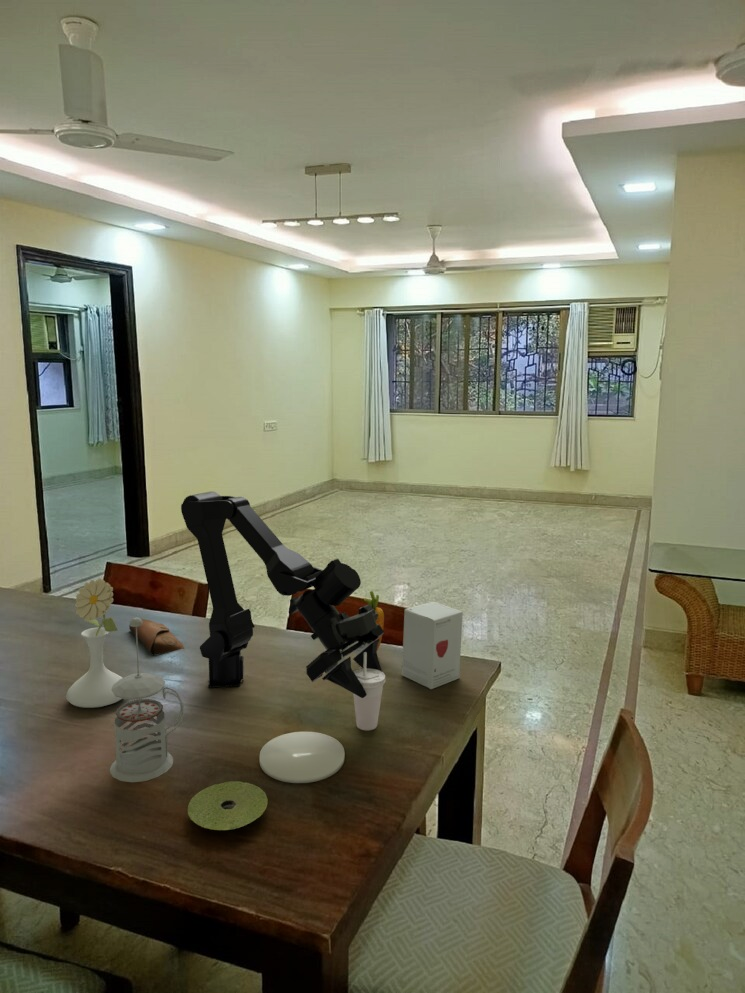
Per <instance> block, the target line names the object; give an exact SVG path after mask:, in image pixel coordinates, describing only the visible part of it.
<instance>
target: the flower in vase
mask: <svg viewBox="0 0 745 993" xmlns="http://www.w3.org/2000/svg"><path fill="white" fill-rule="evenodd" d="M113 591H114V587H113V586H111V584H110V583H109V582H106V581H105V580H104V579H102V578H98V579H96V580H95V579H91V580H90V581H89V582H85V583H84V585H83V587H79V589H78V593H76V596H75V604H74V606H75V608H76V610H75V612H76V615H77V616H79V618H81V619H82V618H83V619H84V621H85V622H87V623H89V624H92V625H94V626H96V627H91V628H88V629H85V630H82V631H81V632H80V635H81V637H82V638H84V640H85V642H86V644H87V646H88V649H89V650H88V651H89V657H90V658H89V660H90V662H89V663H90V664H89V669H88V671H87V672H85V673H84V674H83V675H82V676H81V677H79V678H78V679H77V680H76V681H75V682H73V683H72V684H71V686H70V687H69V688H68V690H67V692H66V694H65V695H66V696H65V698H66V700H67V702H69V703H70V704H71V705H73V706H74V707H79V708H88V709H89V708H90V709H91V708H94V709H95V708H101V707H104V706H105V707H106V706H108V705H109V706H110V705H112V704H115V703H118V702H119V701H121V700H122V699H121V698H119V697H117V696H115V695H114V693H113V692H112V690H111V689H112V686H113V685H114V684H115V683H116V682H117V681H119V680H120V679H122V678H123V676H120V675H119V674H117V673H115V672H114V671H111V670H109V669H108V668H107V667H106V666H105V663H104V644H105V640H106V638H107V636H108V634H109V633H111V632H116V631H118V628H117V626H116V623H115V621H114V619H113V618H112V617H108V618H106V613H107V611H109V609H110V608H111V607H110V606H111V605H112V603H113V602H114V598H113V597H114V593H113ZM100 618H102V620H101V623H100V624H99V621H98V620H97V619H100Z"/></svg>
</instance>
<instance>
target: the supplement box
mask: <svg viewBox="0 0 745 993" xmlns="http://www.w3.org/2000/svg"><path fill="white" fill-rule="evenodd" d="M463 614H464V613H463V611H461V610H460V609H456V608H453V607H450V606H447V605H444V604H442V603H439V602H436V601H429V602H426V603H423V604H418V605H416V606H411V607H408V608H404V614H403V617H404V619H403V640H402V662H401V664H402V666H401V667H402V670H401V675H402V677H405V678H406V679H409V680H411V681H413V682H415V683H417V684H419V685H421V686H424V687H426V688H427V689H429V690H433V689H435V688H438V687H440V686H443V685H446V684H448V683H451V682H453V681H456V680H459V679H460V672H461V655H462V654H461V652H462V651H461V649H462V634H463V633H462V632H463V631H462V630H463Z"/></svg>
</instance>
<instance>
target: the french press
mask: <svg viewBox="0 0 745 993" xmlns="http://www.w3.org/2000/svg"><path fill="white" fill-rule="evenodd" d="M129 625H130V626H132V627H136V636H135V641H136V642H135V643H136V644H135V645H136V668H137V672H136V673H131V674H129V675H127V676H125V677H122V679H120V680H119V681H117V682H116V683H115V684H114V685H113V686H112V689H111V690H112V692H113V693H114V695H115V696H117V697H119V698H121V700H122V699H123V700H130V701H128V702H126V703H123V704H121V705H120V706H119V707H118V708H117V709H116V711H115V715H116V717H115V718H114V739H115V741H114V743H115V760H114V761H113V762H112V763H111V765H110V768H109V773H110V774H111V776H112V778H114V779H116V780H118V781H120V782H125V783H126V782H127V783H138V782H140V783H141V782H147V781H150V780H154V779H156V778H158V777H160V776H162V775H163V774H165V773H167V772H168V771H169V770H170V768H172V766H173V764H174V757H173V756H172V754H170V752H168V736H169V734H171V733H172V732H175V731H176V729H177V728H179V726H180V725H181V723H182V721H183V719H184V712H185V710H184V704H183V701H182V698H181V696H180V695H179V693H178V691H176V690H174V689H173V688H170V687H168V686H165V685H166V684H165V683H166V680H165V679H164V678H163V677H162V676H158V675H156V674H152V673H149V672H140V670H139V669H140V667H139V666H140V664H139V642H138V640H139V639H138V638H137V627H138V626H141V625H142V620H141V619H140V617H138V616H137V617H133V618H131V619H130V621H129ZM165 690H170V691H165ZM161 691H162V698H163V700H166V696H167V695H166V694H170V695H173V696H174V697H176V698H177V700H178V701H179V704H180V711H179V714H178V716H177V718H176V720H175V721H174V722H173V723H172V724H170V725H169V726H167V727H166V717H165V712H164V711H163V709H164V707H163V706H164V705H163V703H161V701H159V700H156V699H152V698H151V697H152V696H155V695H157V694H160V692H161ZM155 718H156V719H155ZM144 721H150V722H153V723H147V722H144ZM178 721H179V722H178ZM139 722H143V723H140V724H138V725H136V724H137V723H139ZM177 722H178V724H177ZM127 723H129V724H128V725H126V724H127ZM154 723H155V725H154ZM175 724H177V725H176V726H175ZM124 725H126V726H124ZM134 725H135V726H134ZM122 726H124V727H123V728H122ZM173 726H175V727H174V728H173V729H171V730H169V729H170V728H172V727H173ZM131 727H133V728H132V729H130V728H131ZM167 730H169V731H168V732H167ZM147 735H149V737H148V736H147ZM121 742H122V743H121ZM129 743H131V744H130V745H129ZM127 745H129V746H127ZM121 750H123V751H121Z"/></svg>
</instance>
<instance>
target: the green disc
mask: <svg viewBox="0 0 745 993" xmlns="http://www.w3.org/2000/svg"><path fill="white" fill-rule="evenodd" d="M267 806H268V797H267V794H266V792H265V791H264V790H263V789H262V788H260V787H259V786H257V785H255V784H252V783H249V782H243V781H238V780H237V781H232V780H230V781H225V782H221V783H216V784H213V785H210V786H208V787H205V788H204V789H202V790H200V791H199V792H197V793H196V794H195V795H194V796H192V798H191V799H190V800H189V803H188V806H187V815H188V817H189V820H191V821H192V822H193V823H195V824H196V825H197V826H200V827H201V828H204V829H209V830H212V831H213V830H214V831H229V830H235V829H239V828H241V827H244V826H247V825H248V824H251V823H252V822H254V821H256V820H258V818H260V817H261V816H262V815H263V814H264V813H265V811H266V809H267Z"/></svg>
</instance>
